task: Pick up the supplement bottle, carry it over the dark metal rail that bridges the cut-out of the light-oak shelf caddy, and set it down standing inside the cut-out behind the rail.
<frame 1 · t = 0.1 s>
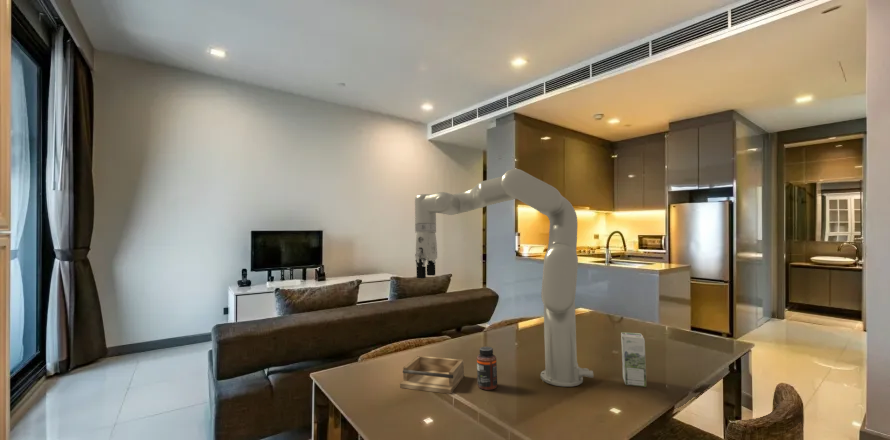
hand: (426, 276, 129), 31 cm above the table, fingers open, 9 cm apart
supplement bottle: (487, 387, 109), on the table
syrup box: (634, 383, 109), on the table
shelf caddy: (433, 381, 113), on the table
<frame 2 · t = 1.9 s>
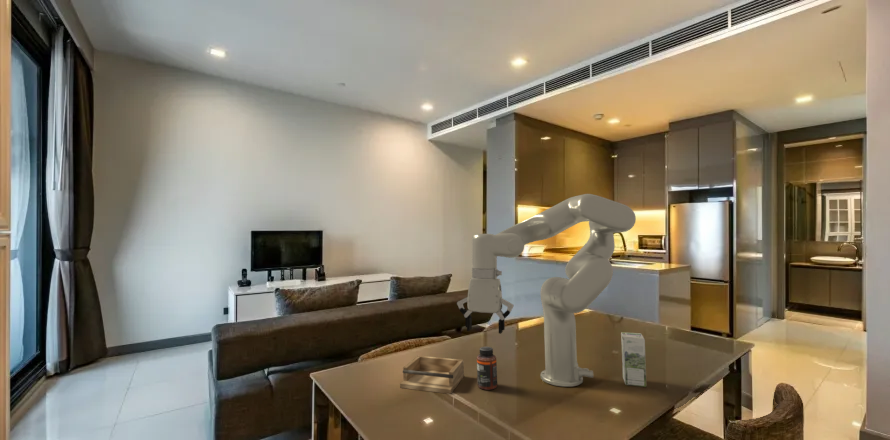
hand: (484, 331, 109), 16 cm above the table, fingers open, 9 cm apart
nothing on the table moved.
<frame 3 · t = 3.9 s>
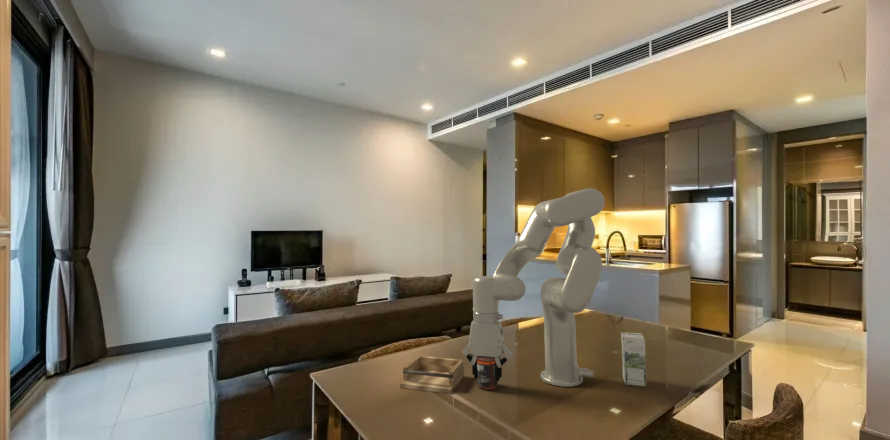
hand: (487, 377, 109), 3 cm above the table, fingers closed on supplement bottle, 6 cm apart
supplement bottle: (487, 387, 109), on the table, touching gripper
everything else where it was.
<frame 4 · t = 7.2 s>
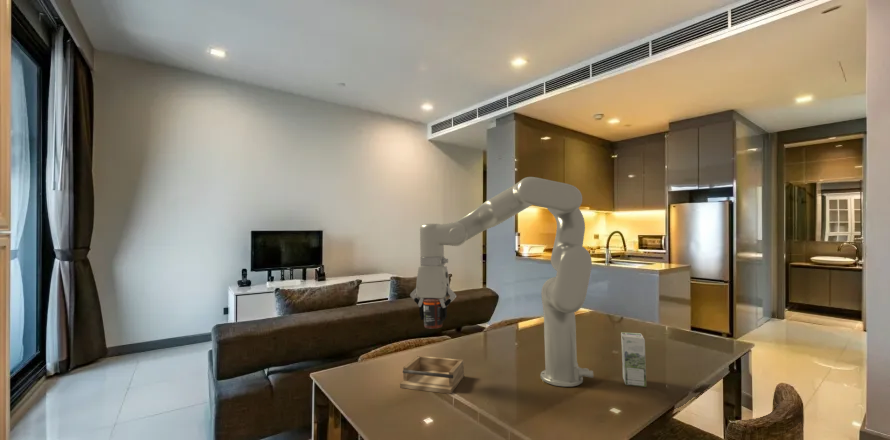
hand: (433, 318, 115), 19 cm above the table, fingers closed on supplement bottle, 6 cm apart
supplement bottle: (433, 327, 114), point 16 cm above the table, touching gripper
everything else where it was.
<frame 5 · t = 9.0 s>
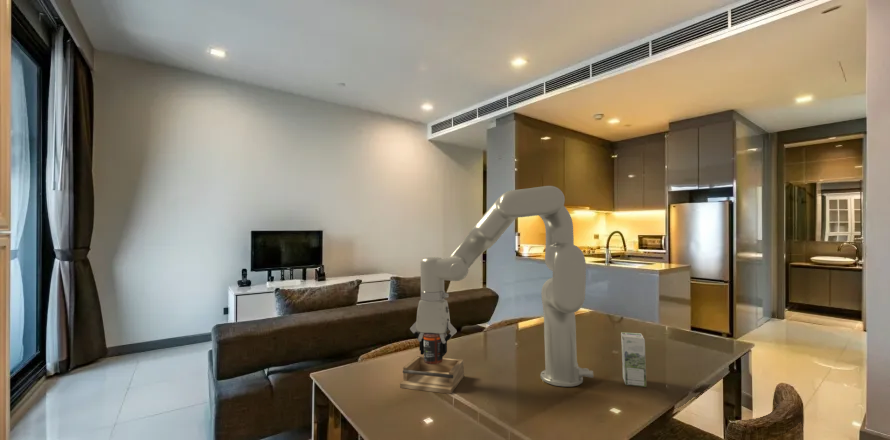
hand: (433, 353, 114), 8 cm above the table, fingers closed on supplement bottle, 6 cm apart
supplement bottle: (433, 362, 114), point 6 cm above the table, touching gripper
everything else where it was.
when the fingers open (6 cm above the table, at t = 10.4 s): supplement bottle drops 2 cm, resting on shelf caddy.
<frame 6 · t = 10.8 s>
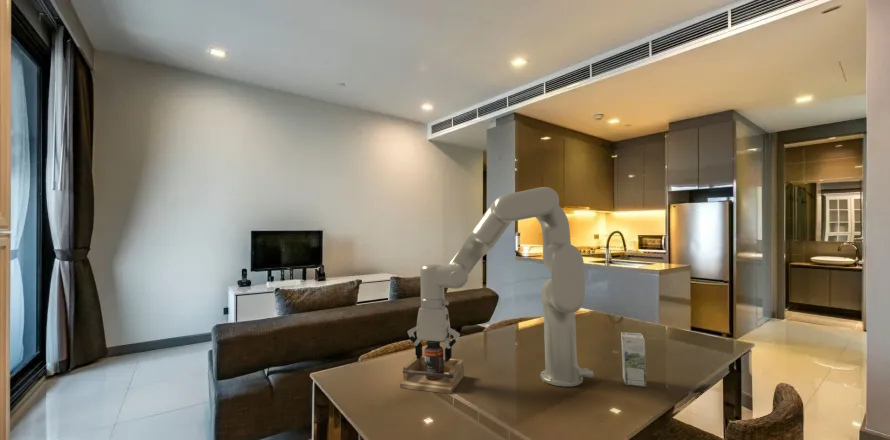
hand: (433, 359, 114), 7 cm above the table, fingers open, 9 cm apart
supplement bottle: (434, 377, 114), point 1 cm above the table, touching shelf caddy
everything else where it was.
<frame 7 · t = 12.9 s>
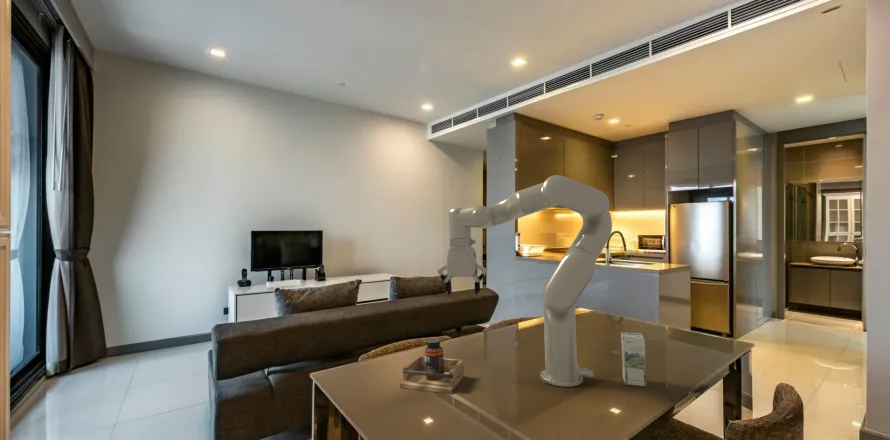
hand: (463, 293, 124), 26 cm above the table, fingers open, 9 cm apart
nothing on the table moved.
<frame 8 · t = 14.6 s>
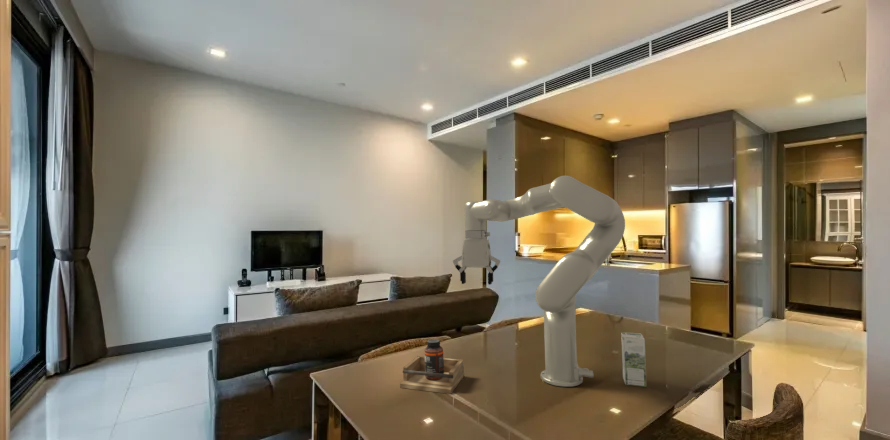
hand: (476, 283, 129), 28 cm above the table, fingers open, 9 cm apart
nothing on the table moved.
at the end: supplement bottle inside the target area on the shelf caddy (0.2 cm from its centre), point 1.0 cm above the shelf caddy's base; supplement bottle tilted 0°; the gripper is holding nothing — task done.
